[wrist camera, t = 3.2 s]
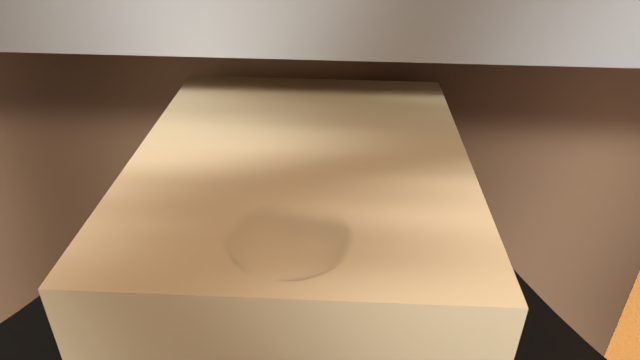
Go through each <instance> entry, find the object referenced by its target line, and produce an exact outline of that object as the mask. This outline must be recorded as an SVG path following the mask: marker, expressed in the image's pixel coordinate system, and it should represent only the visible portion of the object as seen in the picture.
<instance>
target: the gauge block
mask: <svg viewBox="0 0 640 360" xmlns="http://www.w3.org/2000/svg"><path fill="white" fill-rule="evenodd" d="M38 291H39V294H40V297H41V300H42V303H43V305H44V308H45V311H46V314H47V317H48V320H49V323H50V326H51V329H52V331H53V334H54V337H55V340H56V343H57V346H58V349H59V352H60V355H61V357H62V360H514V358H515V354H516V351H517V347H518V344H519V340H520V337H521V333H522V330H523V326H524V323H525V320H526V316H527V313H528V309H529V308H528V306H527V303H526V301H525V298H524V296H523V293H522V290H521V288H520V285H519V283H518V280H517V278H516V275H515V273H514V270H513V268H512V265H511V263H510V260H509V258H508V255H507V253H506V250H505V248H504V245H503V243H502V240H501V238H500V235H499V233H498V230H497V228H496V225H495V223H494V220H493V218H492V215H491V213H490V210H489V208H488V205H487V203H486V200H485V198H484V195H483V193H482V190H481V187H480V185H479V182H478V180H477V177H476V175H475V172H474V170H473V167H472V165H471V162H470V160H469V157H468V155H467V152H466V150H465V147H464V145H463V142H462V140H461V137H460V135H459V132H458V130H457V127H456V125H455V122H454V120H453V117H452V115H451V112H450V110H449V107H448V105H447V102H446V100H445V97H444V95H443V92H442V90H441V87H440V84H439V82H412V81H374V80H336V79H298V78H260V77H222V76H189V77H188V79H187V80H186V81H185V83H184V84H183V86H182V87H181V89H180V90H179V91H178V93H177V94H176V96H175V97H174V98H173V100H172V101H171V103H170V104H169V105H168V107H167V108H166V110H165V111H164V112H163V114H162V115H161V117H160V118H159V119H158V121H157V122H156V124H155V125H154V127H153V128H152V129H151V131H150V132H149V134H148V135H147V136H146V138H145V139H144V141H143V142H142V143H141V145H140V146H139V148H138V149H137V150H136V152H135V153H134V155H133V156H132V157H131V159H130V160H129V162H128V163H127V164H126V166H125V167H124V169H123V170H122V172H121V173H120V174H119V176H118V177H117V179H116V180H115V181H114V183H113V184H112V186H111V187H110V188H109V190H108V191H107V193H106V194H105V195H104V197H103V198H102V200H101V201H100V202H99V204H98V205H97V207H96V208H95V210H94V211H93V212H92V214H91V215H90V217H89V218H88V219H87V221H86V222H85V224H84V225H83V226H82V228H81V229H80V231H79V232H78V233H77V235H76V236H75V238H74V239H73V240H72V242H71V243H70V245H69V246H68V248H67V249H66V250H65V252H64V253H63V255H62V256H61V257H60V259H59V260H58V262H57V263H56V264H55V266H54V267H53V269H52V270H51V271H50V273H49V274H48V276H47V277H46V278H45V280H44V281H43V283H42V284H41V286H40V287H39V288H38Z"/></svg>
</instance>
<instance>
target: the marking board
mask: <svg viewBox="0 0 640 360" xmlns="http://www.w3.org/2000/svg"><path fill="white" fill-rule="evenodd" d="M189 76H222V77H260V78H298V79H336V80H374V81H412V82H439V84H440V87H441V90H442V92H443V95H444V97H445V100H446V102H447V105H448V107H449V110H450V112H451V115H452V117H453V120H454V122H455V125H456V127H457V130H458V132H459V135H460V137H461V140H462V142H463V145H464V147H465V150H466V152H467V155H468V157H469V160H470V162H471V165H472V167H473V170H474V172H475V175H476V177H477V180H478V182H479V185H480V187H481V190H482V193H483V195H484V198H485V200H486V203H487V205H488V208H489V210H490V213H491V215H492V218H493V220H494V223H495V225H496V228H497V230H498V233H499V235H500V238H501V240H502V243H503V245H504V248H505V250H506V253H507V255H508V258H509V260H510V263H511V265H512V268H513V269H514V270H515V271H516V272H517V273H518V274H519V275H520V277H521V278H522V279H523V280H524V281H525V282H526V283H527V284H528V285H529V286H530V287H531V288H532V289H533V290H534V291H535V292H536V293H537V294H538V295H539V297H540V298H541V299H542V300H543V301H544V302H545V303H546V304H547V305H548V306H549V307H550V308H551V309H552V310H553V311H554V312H555V313H556V314H558V315H559V316H560V317H561V318H562V319H563V320H564V321H565V322H566V323H567V324H568V325H569V326H570V327H571V328H572V329H574V330H575V331H576V332H577V333H578V334H579V335H580V336H581V337H582V338H583V339H584V340H585V341H586V342H587V343H588V344H590V345H591V346H592V347H593V348H594V349H595V350H596V351H598V352H599V353H600V354H601V355H602V356H603V357H604V355H605V352H606V350H607V348H608V345H609V343H610V340H611V338H612V336H613V333H614V331H615V328H616V326H617V323H618V321H619V319H620V316H621V314H622V311H623V309H624V307H625V304H626V302H627V299H628V297H629V294H630V292H631V290H632V287H633V285H634V282H635V280H636V278H637V275H638V273H639V270H640V0H0V323H1V322H3V321H4V320H6V319H7V318H9V317H10V316H12V315H13V314H15V313H16V312H18V311H19V310H20V309H22V308H23V307H25V306H26V305H27V304H29V303H30V302H31V301H33V300H34V299H36V298H37V297H38V296H40V294H39V291H38V288H39V287H40V286H41V284H42V283H43V281H44V280H45V278H46V277H47V276H48V274H49V273H50V271H51V270H52V269H53V267H54V266H55V264H56V263H57V262H58V260H59V259H60V257H61V256H62V255H63V253H64V252H65V250H66V249H67V248H68V246H69V245H70V243H71V242H72V240H73V239H74V238H75V236H76V235H77V233H78V232H79V231H80V229H81V228H82V226H83V225H84V224H85V222H86V221H87V219H88V218H89V217H90V215H91V214H92V212H93V211H94V210H95V208H96V207H97V205H98V204H99V202H100V201H101V200H102V198H103V197H104V195H105V194H106V193H107V191H108V190H109V188H110V187H111V186H112V184H113V183H114V181H115V180H116V179H117V177H118V176H119V174H120V173H121V172H122V170H123V169H124V167H125V166H126V164H127V163H128V162H129V160H130V159H131V157H132V156H133V155H134V153H135V152H136V150H137V149H138V148H139V146H140V145H141V143H142V142H143V141H144V139H145V138H146V136H147V135H148V134H149V132H150V131H151V129H152V128H153V127H154V125H155V124H156V122H157V121H158V119H159V118H160V117H161V115H162V114H163V112H164V111H165V110H166V108H167V107H168V105H169V104H170V103H171V101H172V100H173V98H174V97H175V96H176V94H177V93H178V91H179V90H180V89H181V87H182V86H183V84H184V83H185V81H186V80H187V79H188V77H189Z"/></svg>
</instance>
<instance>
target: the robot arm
mask: <svg viewBox="0 0 640 360" xmlns="http://www.w3.org/2000/svg"><path fill="white" fill-rule="evenodd" d="M513 270H514V269H513ZM514 273H515V275H516V278H517V280H518V283H519V285H520V288H521V290H522V293H523V296H524V298H525V301H526V303H527V306H528V308H529V309H528V313H527V316H526V320H525V323H524V326H523V330H522V333H521V337H520V340H519V344H518V347H517V351H516V354H515V358H514V360H607V359H606V358H604V357H603V356H602V355H601V354H600V353H599V352H598V351H596V350H595V349H594V348H593V347H592V346H591V345H590V344H588V343H587V342H586V341H585V340H584V339H583V338H582V337H581V336H580V335H579V334H578V333H577V332H576V331H575V330H574V329H572V328H571V327H570V326H569V325H568V324H567V323H566V322H565V321H564V320H563V319H562V318H561V317H560V316H559V315H558V314H556V313H555V312H554V311H553V310H552V309H551V308H550V307H549V306H548V305H547V304H546V303H545V302H544V301H543V300H542V299H541V298H540V297H539V295H538V294H537V293H536V292H535V291H534V290H533V289H532V288H531V287H530V286H529V285H528V284H527V283H526V282H525V281H524V280H523V279H522V278H521V277H520V275H519V274H518V273H517V272H516V271H515V270H514ZM0 360H62V357H61V355H60V352H59V349H58V346H57V343H56V340H55V337H54V334H53V331H52V329H51V326H50V323H49V320H48V317H47V314H46V311H45V308H44V305H43V303H42V300H41V297H40V296H38V297H37V298H36V299H34V300H33V301H31V302H30V303H29V304H27V305H26V306H25V307H23V308H22V309H20V310H19V311H18V312H16V313H15V314H13V315H12V316H10V317H9V318H7V319H6V320H4V321H3V322H1V323H0Z"/></svg>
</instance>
